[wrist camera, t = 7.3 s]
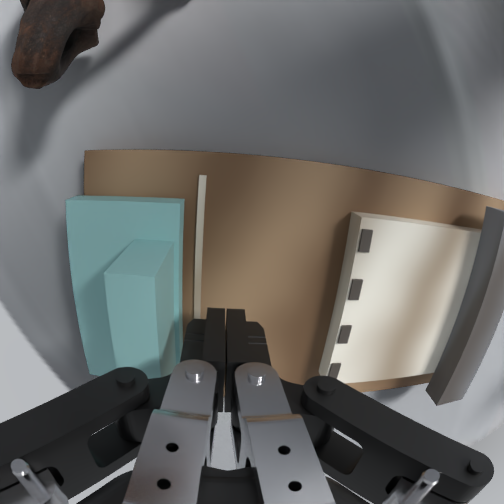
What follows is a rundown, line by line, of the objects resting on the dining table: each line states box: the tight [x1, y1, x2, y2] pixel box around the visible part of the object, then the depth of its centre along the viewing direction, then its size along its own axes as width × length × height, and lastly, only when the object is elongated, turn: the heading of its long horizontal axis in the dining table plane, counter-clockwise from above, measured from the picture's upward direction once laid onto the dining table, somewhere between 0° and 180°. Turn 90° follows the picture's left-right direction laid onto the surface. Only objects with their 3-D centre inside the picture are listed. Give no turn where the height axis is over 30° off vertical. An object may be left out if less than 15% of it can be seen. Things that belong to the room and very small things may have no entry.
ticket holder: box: [84, 150, 504, 406], centre depth 14 cm, size 24×13×4 cm, turn 85°
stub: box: [66, 196, 185, 379], centre depth 12 cm, size 5×9×5 cm, turn 175°
